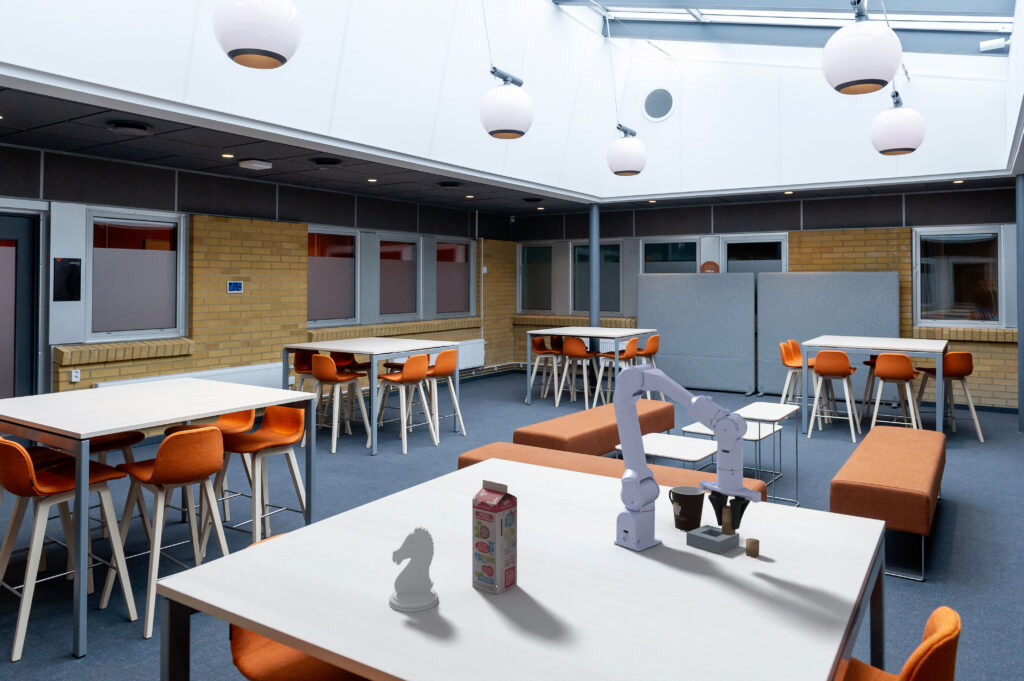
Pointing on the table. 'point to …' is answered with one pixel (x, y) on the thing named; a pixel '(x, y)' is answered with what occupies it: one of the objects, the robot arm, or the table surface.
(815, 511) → the table surface
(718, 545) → the hole block
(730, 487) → the robot arm
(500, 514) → the juice carton
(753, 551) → the short dowel
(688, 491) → the coffee mug
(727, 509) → the long dowel
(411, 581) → the chess piece
